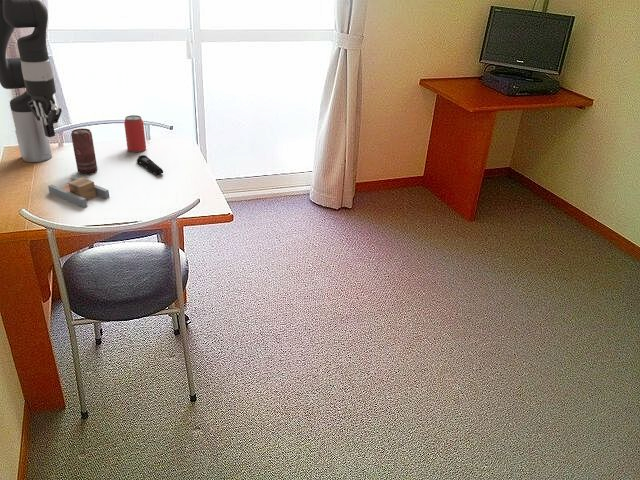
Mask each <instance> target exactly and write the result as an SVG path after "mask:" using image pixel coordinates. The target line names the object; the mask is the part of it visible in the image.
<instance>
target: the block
mask: <svg viewBox="0 0 640 480" xmlns="http://www.w3.org/2000/svg"><path fill="white" fill-rule="evenodd" d="M94 184H95V182H94V181H93V180H91V179H88V178H85V177H79V179H77V180H75V181H69V182H68V185H69V189H70V192H71V193H73V194H76V195H78V196H81V197H83V198H85V199H86V201H87V202H88V201H89V200H91V199H94V198H97V195H96V192H95V186H94Z"/></svg>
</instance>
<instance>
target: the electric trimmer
mask: <svg viewBox="0 0 640 480" xmlns="http://www.w3.org/2000/svg"><path fill="white" fill-rule="evenodd" d="M136 162H137V164H140V165H143V166H144V167H146V169H147V171H148V172H151V173H153V174H155V175H160V174H161V175H162V174H163V173H164V170H163V168H161V167H160V166H159V165H157V164H156V163H155V162H154V161H153V160H152V159H151V158H150V157H148V156H147V155H145V154H144V155H143V154H142V155H139V156H138V157H137V160H136Z"/></svg>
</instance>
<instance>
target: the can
mask: <svg viewBox="0 0 640 480" xmlns="http://www.w3.org/2000/svg"><path fill="white" fill-rule="evenodd" d="M70 136H71V143H72V146H73V153H74V158H75V163H76V169H77V172H78V173H79V174H80V175H83V176H89V175H93V174H95V173H97V172H98V164H97V158H96V153H95V146H94V139H93V134H92V131H91V130H90V129H88V128H75V129H73V130H72V131H71V134H70Z"/></svg>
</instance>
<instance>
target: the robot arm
mask: <svg viewBox="0 0 640 480" xmlns="http://www.w3.org/2000/svg"><path fill="white" fill-rule="evenodd" d="M48 14H49V11H48V9H47V6H46V5H45V3H44V2H43V1H42V0H0V85H1V87H2V88H3V89H6V90H13V89H14V90H15V89H25V91H24V92H23V93H22V94H20V95H18V96H15V97H13V98H12V99H11V100H9V107H10V111H11V115H12V119H13V123H14V124H13V125H14V127H15V135H16V139H17V143H18V148H19V152H20V153H19V154H20V157H21V158H22V160H23V161H24V162H28V163H39V162H45V161H48V160H50V159H52V157H53V152H52V149H51V144H50V138H53V137H55V136H56V133H55V127H54V124H58V123H59V120H60V117H61V114H62V112H63V111H62V108H61V107H57V106H56V101H55V99H54V95H55V94H56V93H57V89H56V83H55V78H54V74H53V69H52V65H51V62H50V58H49V51H48V47H47V46H48V45H47V28H48V21H49V20H48V19H49V15H48ZM24 28H26V29H27V28H34V29H33V30H32V33H31V34H28V35H25V36H22V37H19V38H18V39H17V42H16V43H17V45H16V46H17V49H18V53H19V54H18V55H19V57H11V58H10V57H9V58H7V47H8V44H9V41H10V38H11V37H12V34H13V32H14V30H15V29H24Z"/></svg>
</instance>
